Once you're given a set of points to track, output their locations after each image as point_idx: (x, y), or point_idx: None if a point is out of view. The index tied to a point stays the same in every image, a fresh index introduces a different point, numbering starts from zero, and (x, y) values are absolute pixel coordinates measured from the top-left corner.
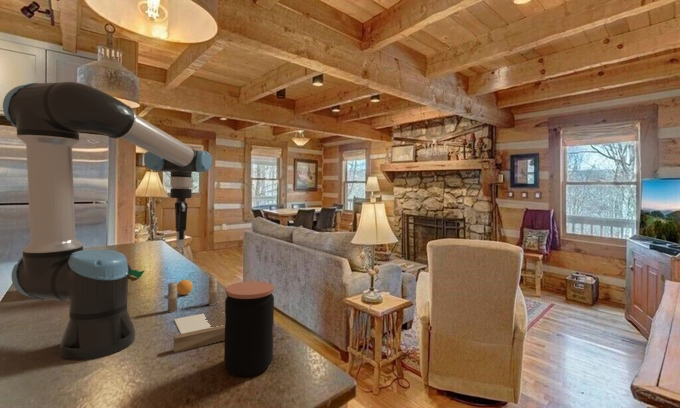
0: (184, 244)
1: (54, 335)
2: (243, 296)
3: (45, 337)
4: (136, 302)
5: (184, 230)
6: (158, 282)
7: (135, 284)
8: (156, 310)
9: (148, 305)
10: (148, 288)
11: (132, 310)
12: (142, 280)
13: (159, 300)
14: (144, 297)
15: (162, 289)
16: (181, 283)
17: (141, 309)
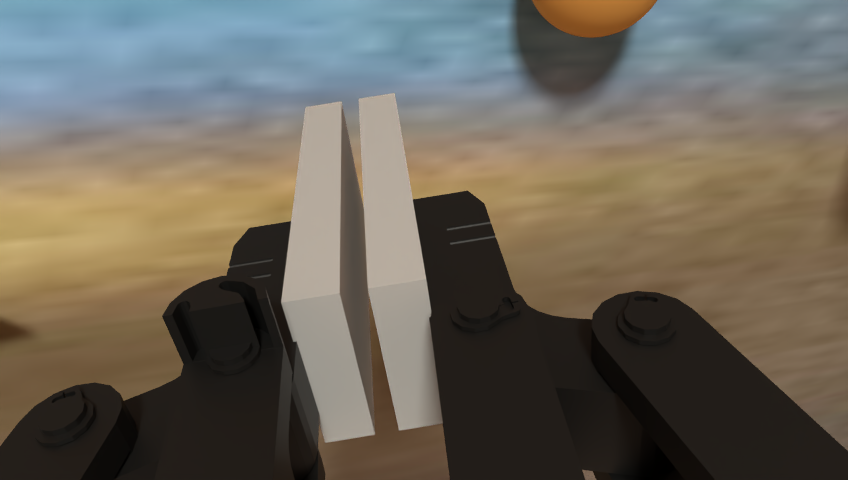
0: (396, 119)
1: (844, 428)
2: None
3: (843, 443)
4: (594, 244)
5: (521, 305)
6: (107, 164)
7: (143, 302)
8: (822, 130)
9: (695, 179)
10: (284, 215)
11: (732, 244)
12: (20, 276)
13: (628, 126)
14: (509, 216)
15: (347, 122)
16: (648, 5)
17: (746, 206)
